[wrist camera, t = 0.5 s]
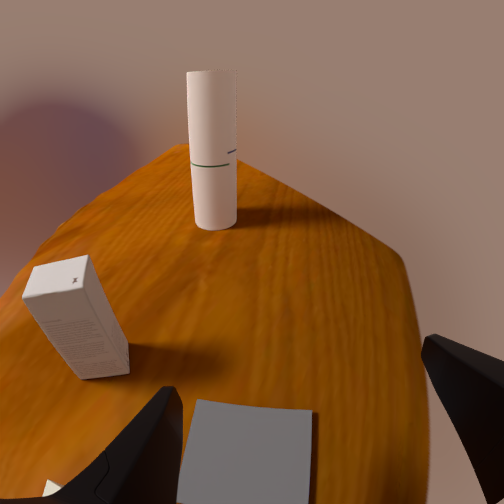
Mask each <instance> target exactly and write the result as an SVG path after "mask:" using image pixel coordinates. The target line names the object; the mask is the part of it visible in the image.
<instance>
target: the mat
mask: <svg viewBox="0 0 504 504" xmlns="http://www.w3.org/2000/svg"><path fill="white" fill-rule="evenodd" d="M311 436H312V410H290V409H274V408H262V407H251V406H242V405H234V404H226V403H219V402H213V401H206V400H201V399H197V403H196V407H195V411H194V415H193V419H192V423H191V428H190V432H189V436H188V440H187V444H186V449H185V453H184V457H183V462H182V466H181V470H180V475H179V481H178V491H177V502H179V503H183V504H308V498H309V483H310V464H311Z"/></svg>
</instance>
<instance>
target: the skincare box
mask: <svg viewBox="0 0 504 504" xmlns="http://www.w3.org/2000/svg"><path fill="white" fill-rule="evenodd" d="M22 299H23V301H24V303H25V304H26V306H27V307H28V309H29V310H30V312H31V314H32V315H33V317H34V318H35V320H36V321H37V323H38V324H39V326H40V327H41V329H42V330H43V332H44V333H45V334H46V336H47V337H48V339H49V340H50V342H51V343H52V344H53V346H54V347H55V348H56V350H57V351H58V352H59V354H60V355H61V356H62V357H63V359H64V360H65V361H66V363H67V364H68V365H69V366H70V368H71V369H72V370H73V371H74V372H75V374H76V375H77V376H78V377H79V378H80V379H90V378H99V377H107V376H115V375H122V374H129V373H130V368H129V352H128V341H127V339H126V338H125V336H124V334H123V332H122V330H121V328H120V326H119V324H118V321H117V319H116V317H115V315H114V313H113V311H112V309H111V307H110V304H109V302H108V300H107V298H106V296H105V293H104V291H103V288H102V286H101V284H100V281H99V279H98V277H97V274H96V272H95V269H94V266H93V264H92V261H91V259H90V256H89V255H85V256H80V257H76V258H72V259H68V260H63V261H58V262H54V263H49V264H45V265H40V266H36V267H34V268H33V271H32V273H31V276H30V278H29V281H28V283H27V286H26V289H25V291H24V293H23V296H22Z"/></svg>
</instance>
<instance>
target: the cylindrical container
mask: <svg viewBox="0 0 504 504" xmlns="http://www.w3.org/2000/svg"><path fill="white" fill-rule="evenodd" d="M236 76H237V71H236V70H211V71H195V72H187V101H188V102H187V103H188V126H189V145H190V160H191V174H192V188H193V200H194V211H195V222H196V224H197V225H198V226H199V227H200V228H202V229H206V230H223V229H226V228H229V227H231V226H233V225H234V224H235V223H236V220H237V196H236V83H237V82H236V81H237V77H236Z"/></svg>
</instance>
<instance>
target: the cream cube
mask: <svg viewBox="0 0 504 504" xmlns="http://www.w3.org/2000/svg"><path fill="white" fill-rule="evenodd" d="M63 486H64V485H61V484H59V483H56V482H53V481H51V480H47V483H46V486H45V490H44V493H43V496H48V495H51V494H53V493H55V492H57V491H58V490H60V489H61V488H62V487H63Z"/></svg>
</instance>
